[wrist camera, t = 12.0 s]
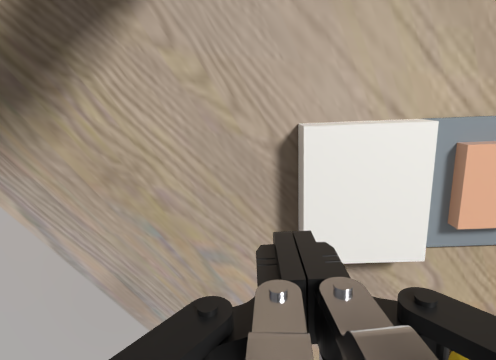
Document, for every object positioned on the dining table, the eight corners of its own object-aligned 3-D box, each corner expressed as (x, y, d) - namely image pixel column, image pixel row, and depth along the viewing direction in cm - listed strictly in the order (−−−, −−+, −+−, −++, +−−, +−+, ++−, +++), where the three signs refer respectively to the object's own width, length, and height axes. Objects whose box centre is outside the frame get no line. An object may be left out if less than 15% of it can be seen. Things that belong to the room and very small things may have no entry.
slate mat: (419, 118, 38) (421, 119, 37) (559, 113, 37) (563, 113, 37) (408, 245, 41) (410, 247, 41) (535, 241, 41) (538, 243, 41)
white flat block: (298, 123, 38) (303, 126, 34) (419, 118, 38) (438, 121, 34) (298, 249, 42) (303, 264, 38) (408, 245, 41) (424, 261, 38)
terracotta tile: (532, 142, 36) (517, 140, 38) (468, 144, 36) (456, 142, 38) (517, 227, 38) (504, 221, 40) (457, 229, 38) (447, 223, 40)
